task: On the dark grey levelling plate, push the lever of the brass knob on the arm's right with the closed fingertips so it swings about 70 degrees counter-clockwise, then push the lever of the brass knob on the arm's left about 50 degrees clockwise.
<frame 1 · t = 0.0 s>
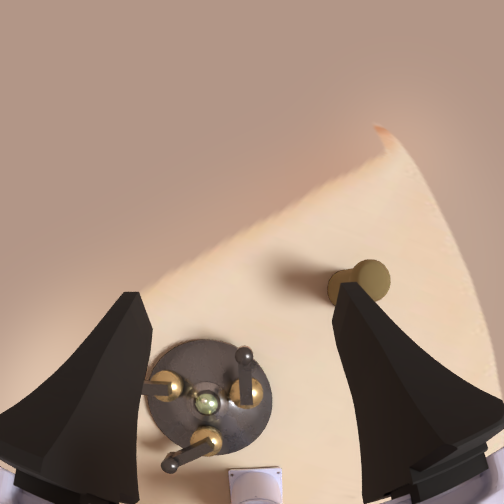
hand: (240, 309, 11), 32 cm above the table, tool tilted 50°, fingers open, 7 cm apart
knob B: (148, 386, 36), point 4 cm above the table, hinge at 0.0°
cork: (346, 289, 43), on the table
knob C: (191, 451, 34), point 4 cm above the table, hinge at 0.0°
levelling plate: (208, 399, 39), on the table
knob A: (245, 379, 36), point 4 cm above the table, hinge at 0.0°
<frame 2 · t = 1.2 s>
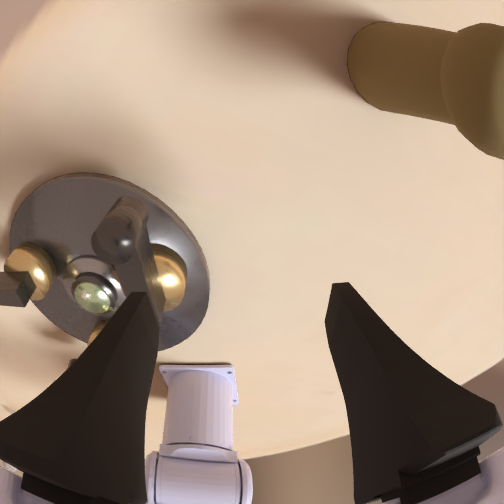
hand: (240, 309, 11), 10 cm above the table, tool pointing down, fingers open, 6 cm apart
energy drink can: (17, 437, 66), on the table
knob B: (3, 284, 18), point 4 cm above the table, hinge at 0.0°
cork: (391, 66, 14), on the table
knob C: (95, 363, 23), point 4 cm above the table, hinge at 0.0°
levelling plate: (101, 277, 22), on the table
knob A: (140, 267, 17), point 4 cm above the table, hinge at 0.0°
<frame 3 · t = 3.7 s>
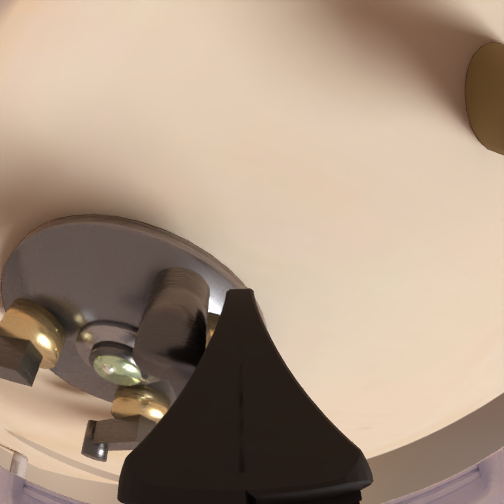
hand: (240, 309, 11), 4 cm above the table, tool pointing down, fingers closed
energy drink can: (21, 453, 62), on the table
knob B: (0, 350, 13), point 4 cm above the table, hinge at 0.0°
cork: (500, 97, 9), on the table
knob C: (120, 429, 18), point 4 cm above the table, hinge at 0.0°
levelling plate: (125, 339, 17), on the table
knob A: (193, 355, 12), point 4 cm above the table, hinge at 0.0°, touching gripper
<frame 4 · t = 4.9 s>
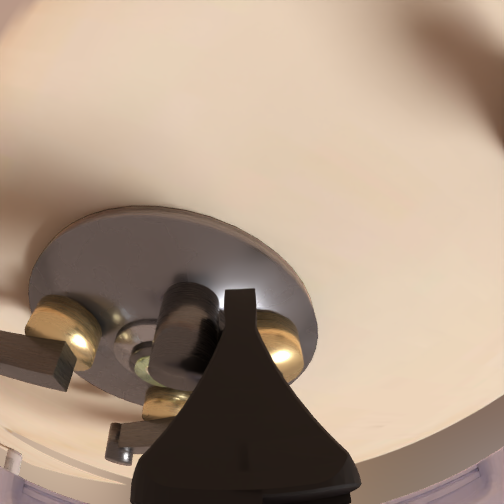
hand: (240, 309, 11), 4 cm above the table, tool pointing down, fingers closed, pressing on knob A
energy drink can: (15, 450, 60), on the table
knob B: (25, 351, 13), point 4 cm above the table, hinge at 0.0°
knob C: (149, 431, 18), point 4 cm above the table, hinge at 0.0°
levelling plate: (166, 339, 17), on the table
knob A: (236, 358, 13), point 4 cm above the table, hinge at 29.9°, touching gripper
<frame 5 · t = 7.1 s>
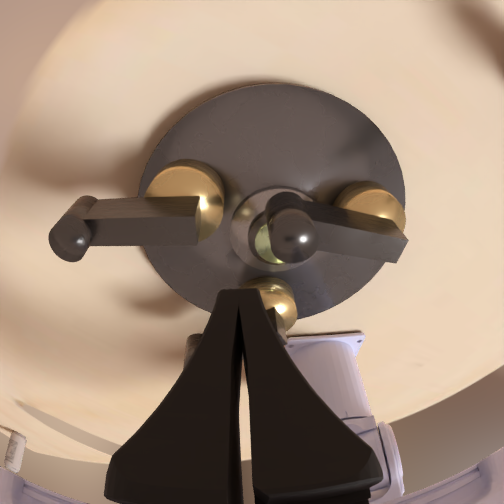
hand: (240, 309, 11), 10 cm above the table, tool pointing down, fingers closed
energy drink can: (19, 434, 61), on the table
knob B: (139, 216, 15), point 4 cm above the table, hinge at 0.0°
knob C: (238, 335, 21), point 4 cm above the table, hinge at 0.0°
levelling plate: (275, 221, 20), on the table
knob A: (344, 226, 16), point 4 cm above the table, hinge at 79.9°
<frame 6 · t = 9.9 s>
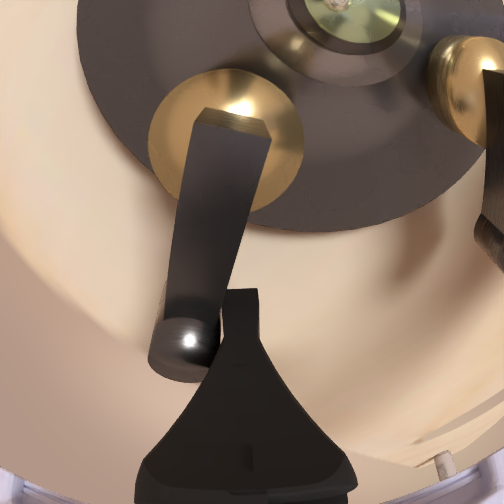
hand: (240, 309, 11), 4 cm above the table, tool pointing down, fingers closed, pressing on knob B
energy drink can: (441, 452, 64), on the table
knob B: (207, 225, 9), point 4 cm above the table, hinge at -2.2°, touching gripper
levelling plate: (330, 10, 8), on the table
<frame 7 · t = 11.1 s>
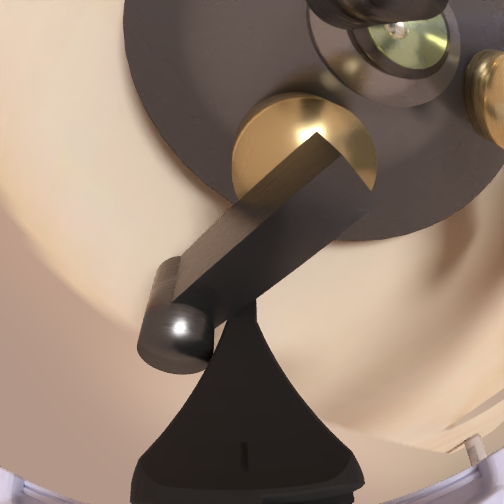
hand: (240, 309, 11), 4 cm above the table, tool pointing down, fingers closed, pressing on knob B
energy drink can: (471, 436, 62), on the table
knob B: (254, 231, 9), point 4 cm above the table, hinge at -37.6°, touching gripper
levelling plate: (376, 29, 8), on the table
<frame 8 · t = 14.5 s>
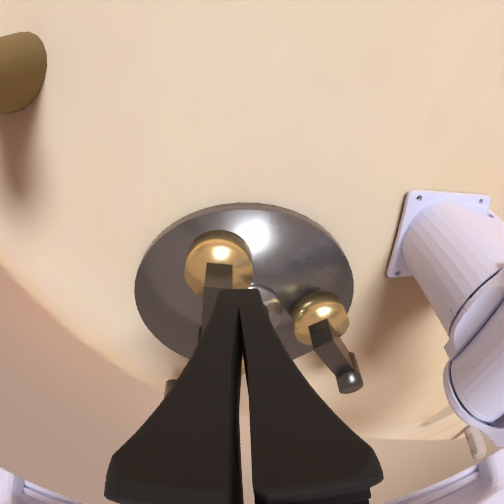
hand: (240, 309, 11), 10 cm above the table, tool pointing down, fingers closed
energy drink can: (469, 425, 72), on the table
knob B: (201, 381, 26), point 4 cm above the table, hinge at -56.8°
cork: (17, 71, 12), on the table
knob C: (333, 347, 23), point 4 cm above the table, hinge at 0.0°
levelling plate: (244, 301, 25), on the table
knob A: (215, 307, 20), point 4 cm above the table, hinge at 80.0°
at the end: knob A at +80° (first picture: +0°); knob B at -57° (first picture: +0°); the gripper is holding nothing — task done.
